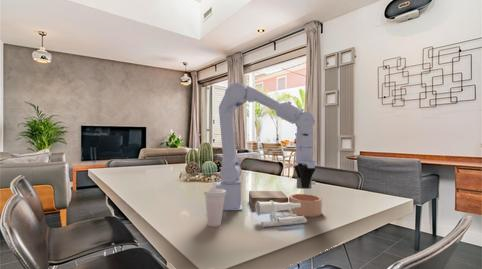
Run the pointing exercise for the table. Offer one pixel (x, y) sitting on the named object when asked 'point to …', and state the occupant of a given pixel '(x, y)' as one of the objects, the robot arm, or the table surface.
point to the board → (266, 197)
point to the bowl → (306, 205)
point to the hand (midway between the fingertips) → (303, 186)
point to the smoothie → (214, 204)
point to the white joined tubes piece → (284, 220)
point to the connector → (301, 184)
